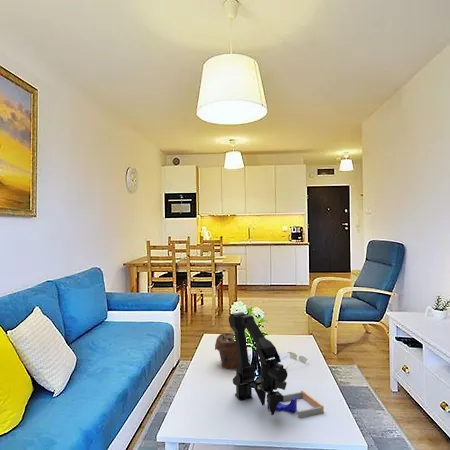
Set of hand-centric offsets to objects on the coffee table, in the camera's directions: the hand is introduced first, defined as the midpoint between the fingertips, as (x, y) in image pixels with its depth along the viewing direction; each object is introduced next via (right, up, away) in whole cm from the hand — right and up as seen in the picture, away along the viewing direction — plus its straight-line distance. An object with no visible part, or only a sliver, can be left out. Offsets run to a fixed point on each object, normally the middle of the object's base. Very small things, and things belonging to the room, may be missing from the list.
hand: (267, 409), depth 175 cm
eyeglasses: (+17, -1, +59) cm, 61 cm away
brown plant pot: (-14, -1, +58) cm, 59 cm away
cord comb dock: (+16, -1, +6) cm, 17 cm away
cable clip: (+7, -2, +4) cm, 8 cm away
